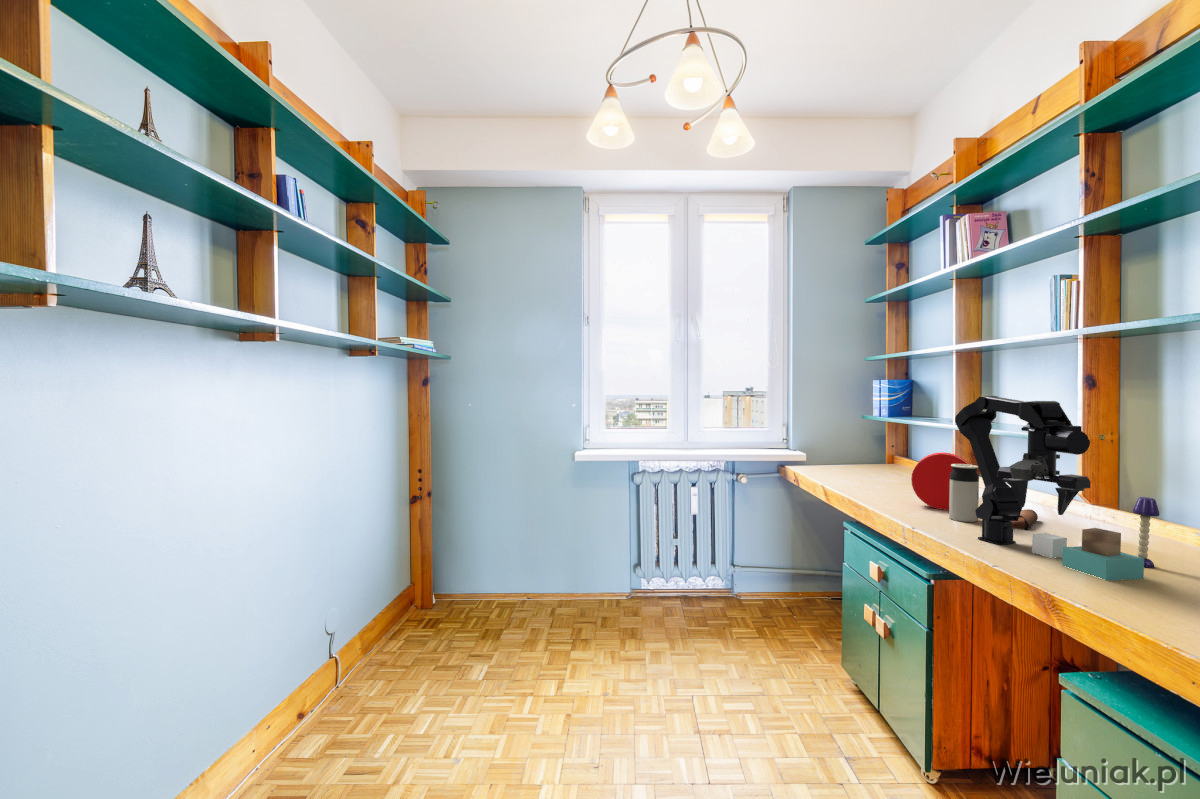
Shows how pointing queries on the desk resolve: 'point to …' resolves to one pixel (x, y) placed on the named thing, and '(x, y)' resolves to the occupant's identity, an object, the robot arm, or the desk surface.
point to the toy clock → (935, 478)
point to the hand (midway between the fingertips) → (1040, 510)
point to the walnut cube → (1101, 541)
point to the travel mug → (964, 492)
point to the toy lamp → (1145, 525)
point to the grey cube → (1048, 544)
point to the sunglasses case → (1025, 519)
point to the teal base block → (1104, 564)
